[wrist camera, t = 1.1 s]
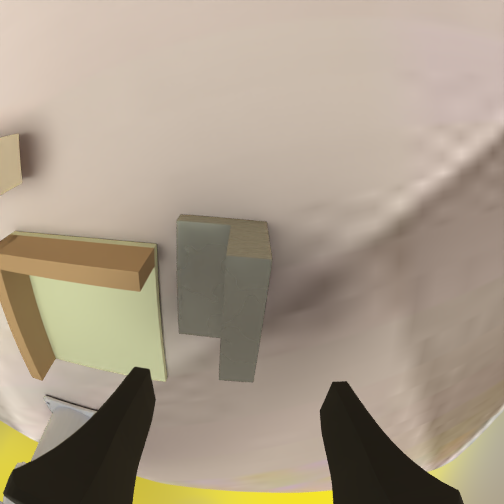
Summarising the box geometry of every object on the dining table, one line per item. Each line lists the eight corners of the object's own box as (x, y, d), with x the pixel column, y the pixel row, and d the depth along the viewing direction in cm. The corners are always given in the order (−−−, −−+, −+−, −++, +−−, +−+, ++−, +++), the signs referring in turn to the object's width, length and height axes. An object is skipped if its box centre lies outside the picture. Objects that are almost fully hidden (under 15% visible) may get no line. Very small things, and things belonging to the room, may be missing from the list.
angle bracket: (252, 329, 21) (253, 382, 17) (182, 322, 21) (167, 373, 16) (266, 221, 18) (272, 259, 13) (181, 213, 18) (158, 249, 13)
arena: (167, 376, 23) (158, 410, 20) (48, 351, 23) (32, 377, 19) (156, 243, 18) (138, 272, 15) (14, 231, 18) (-14, 251, 14)
